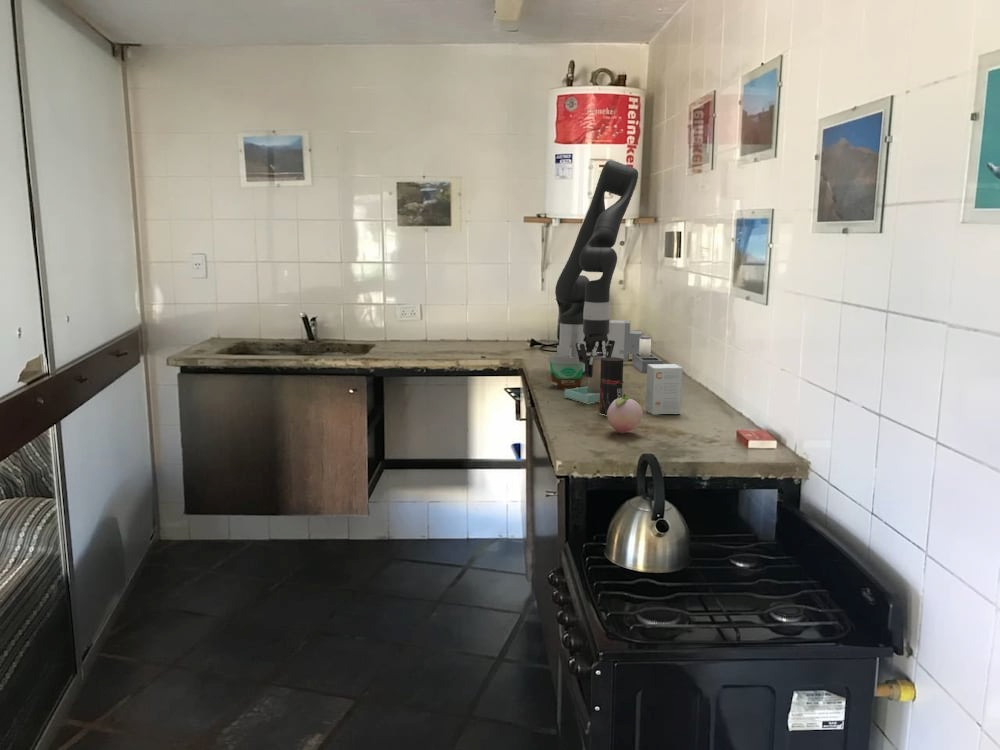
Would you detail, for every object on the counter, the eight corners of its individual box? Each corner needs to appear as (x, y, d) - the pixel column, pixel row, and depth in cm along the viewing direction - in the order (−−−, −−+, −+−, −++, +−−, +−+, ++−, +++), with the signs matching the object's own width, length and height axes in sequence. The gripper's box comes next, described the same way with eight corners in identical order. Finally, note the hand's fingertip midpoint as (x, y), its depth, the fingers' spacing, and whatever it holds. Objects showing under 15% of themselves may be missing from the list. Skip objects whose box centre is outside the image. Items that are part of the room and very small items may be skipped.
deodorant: (616, 417, 211) (618, 361, 209) (595, 414, 214) (597, 359, 211) (624, 413, 216) (626, 358, 214) (603, 410, 219) (605, 356, 216)
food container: (553, 390, 245) (554, 358, 243) (547, 386, 251) (547, 355, 249) (591, 388, 248) (592, 356, 247) (584, 384, 254) (585, 353, 252)
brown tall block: (599, 393, 232) (600, 357, 230) (586, 392, 233) (587, 356, 231) (602, 391, 235) (603, 355, 233) (589, 390, 237) (590, 354, 235)
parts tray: (587, 404, 226) (588, 395, 226) (564, 398, 234) (564, 389, 234) (622, 398, 235) (623, 390, 234) (599, 392, 243) (599, 384, 242)
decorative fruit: (638, 440, 189) (640, 399, 187) (604, 437, 191) (605, 396, 190) (642, 430, 198) (644, 391, 196) (609, 428, 200) (611, 389, 198)
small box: (673, 409, 221) (675, 363, 218) (680, 415, 215) (683, 367, 212) (644, 410, 220) (646, 363, 218) (651, 415, 214) (653, 367, 211)
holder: (662, 375, 271) (663, 341, 269) (641, 375, 271) (643, 341, 269) (651, 367, 287) (652, 334, 285) (631, 367, 287) (633, 334, 284)
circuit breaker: (644, 364, 293) (646, 323, 290) (605, 362, 296) (607, 322, 293) (645, 361, 300) (647, 321, 297) (607, 359, 303) (608, 320, 300)
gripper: (587, 320, 223) (585, 380, 226) (623, 317, 231) (621, 375, 235) (569, 317, 229) (567, 376, 232) (605, 314, 237) (603, 371, 240)
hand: (594, 375), depth 233 cm, fingers closed on brown tall block, 4 cm apart
